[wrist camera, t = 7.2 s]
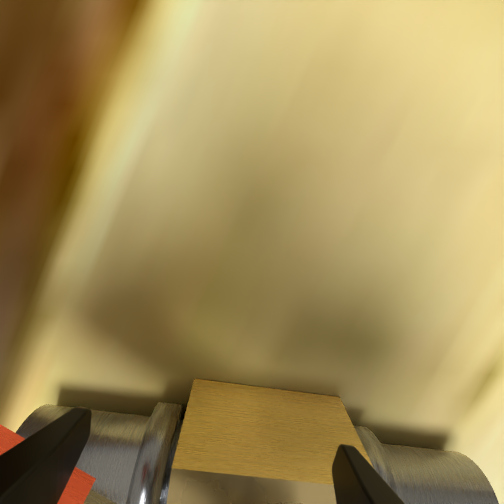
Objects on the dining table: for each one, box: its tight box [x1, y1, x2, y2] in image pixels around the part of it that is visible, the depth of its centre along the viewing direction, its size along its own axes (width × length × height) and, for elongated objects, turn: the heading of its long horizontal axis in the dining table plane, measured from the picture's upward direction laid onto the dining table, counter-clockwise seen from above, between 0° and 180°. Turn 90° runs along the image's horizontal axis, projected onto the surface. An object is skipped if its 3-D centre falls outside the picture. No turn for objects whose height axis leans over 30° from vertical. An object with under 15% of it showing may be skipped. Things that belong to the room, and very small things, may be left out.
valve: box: [16, 379, 499, 504], centre depth 13 cm, size 7×22×7 cm, turn 80°
